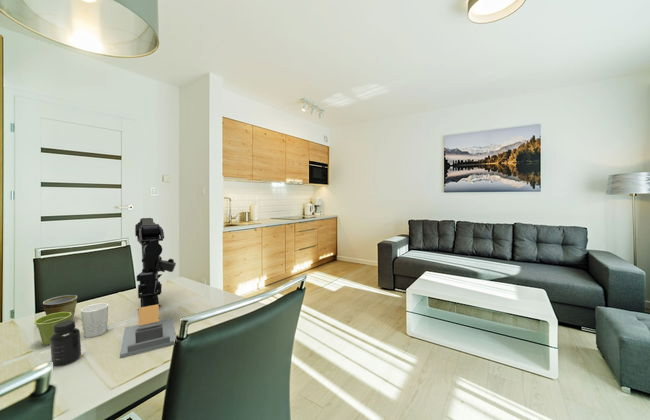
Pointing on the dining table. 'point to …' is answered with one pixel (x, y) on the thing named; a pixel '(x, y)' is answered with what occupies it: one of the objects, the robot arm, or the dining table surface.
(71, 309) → the ceramic cup
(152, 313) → the lever
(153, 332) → the switch board
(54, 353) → the supplement bottle
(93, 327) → the white cup
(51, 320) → the plant pot
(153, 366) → the dining table surface
